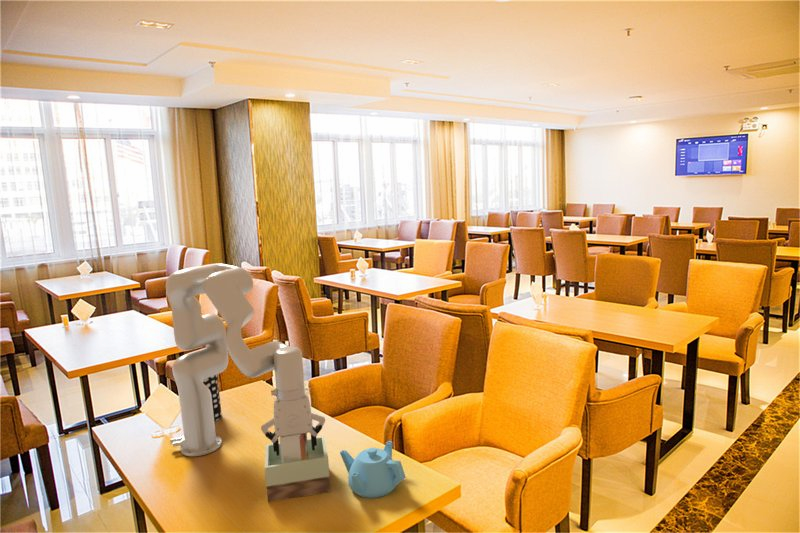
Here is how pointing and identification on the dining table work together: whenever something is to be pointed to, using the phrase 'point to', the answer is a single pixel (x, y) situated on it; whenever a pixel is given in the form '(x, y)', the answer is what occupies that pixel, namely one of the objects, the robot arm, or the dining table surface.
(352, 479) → the teapot
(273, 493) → the lower crate
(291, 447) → the small box
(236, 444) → the dining table surface
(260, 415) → the dining table surface
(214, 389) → the white-spotted black cylinder
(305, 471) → the upper crate
